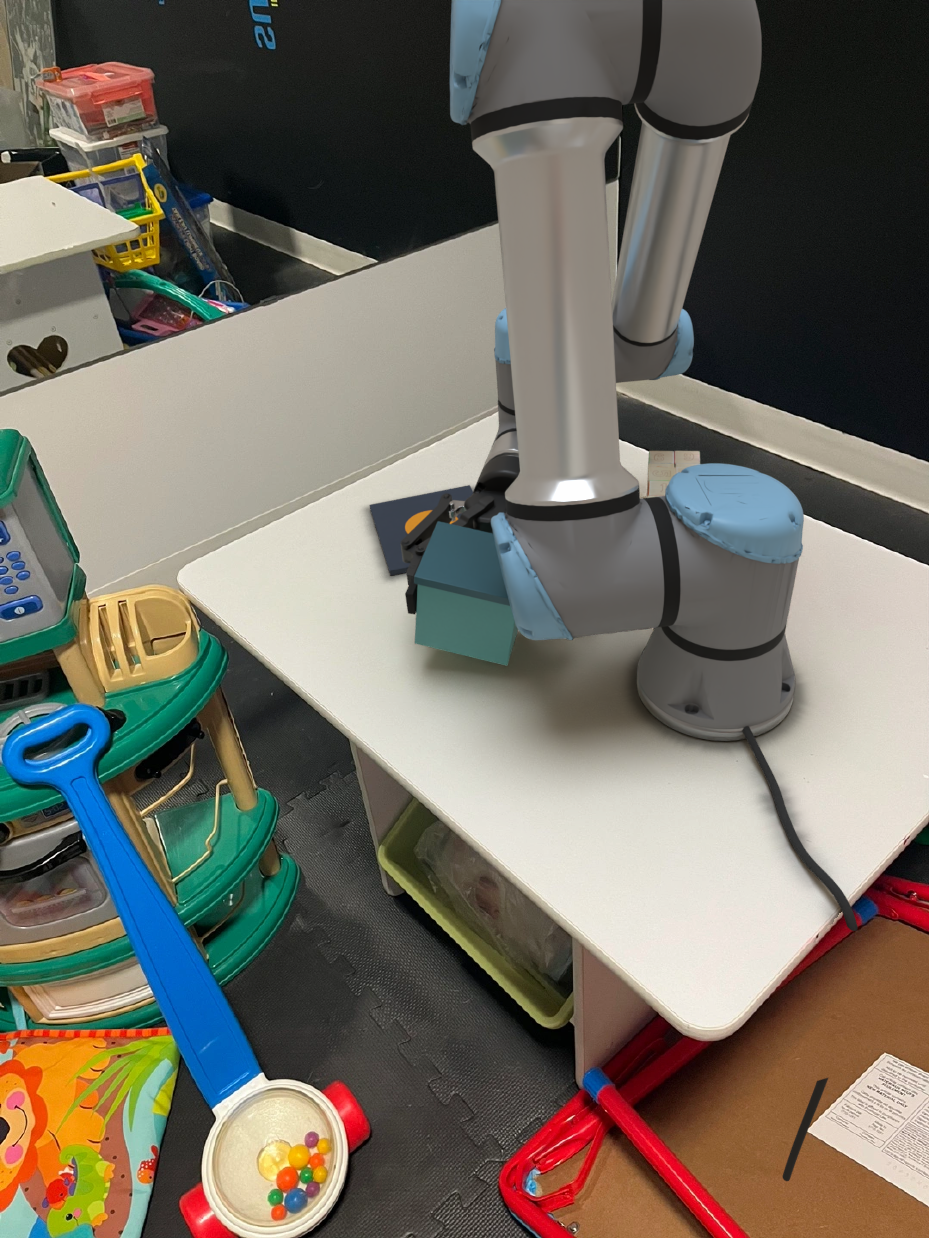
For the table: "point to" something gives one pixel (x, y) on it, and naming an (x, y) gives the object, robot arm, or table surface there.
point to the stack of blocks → (667, 468)
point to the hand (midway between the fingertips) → (464, 611)
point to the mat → (406, 521)
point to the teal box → (463, 596)
